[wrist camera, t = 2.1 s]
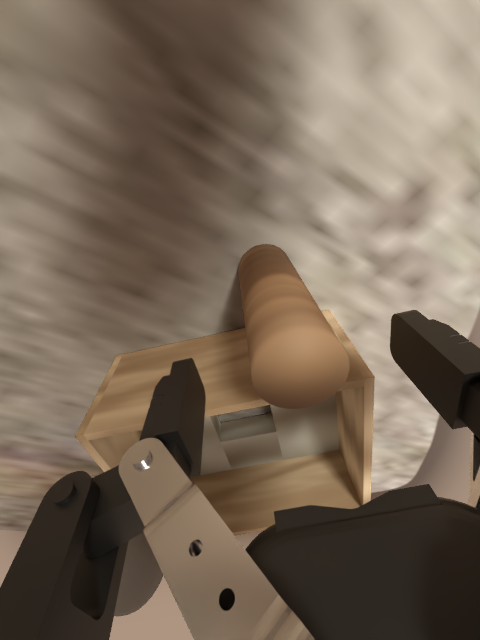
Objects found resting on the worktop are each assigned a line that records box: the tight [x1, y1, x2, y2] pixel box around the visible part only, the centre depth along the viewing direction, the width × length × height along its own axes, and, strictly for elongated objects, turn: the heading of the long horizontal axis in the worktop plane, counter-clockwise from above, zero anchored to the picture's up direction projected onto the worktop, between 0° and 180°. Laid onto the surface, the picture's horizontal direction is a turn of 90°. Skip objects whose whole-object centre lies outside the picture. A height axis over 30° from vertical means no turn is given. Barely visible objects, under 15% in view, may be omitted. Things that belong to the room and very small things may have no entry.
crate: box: [75, 310, 374, 535], centre depth 21 cm, size 14×16×7 cm
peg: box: [238, 244, 350, 409], centre depth 14 cm, size 3×3×10 cm
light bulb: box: [114, 532, 163, 616], centre depth 25 cm, size 6×6×10 cm
